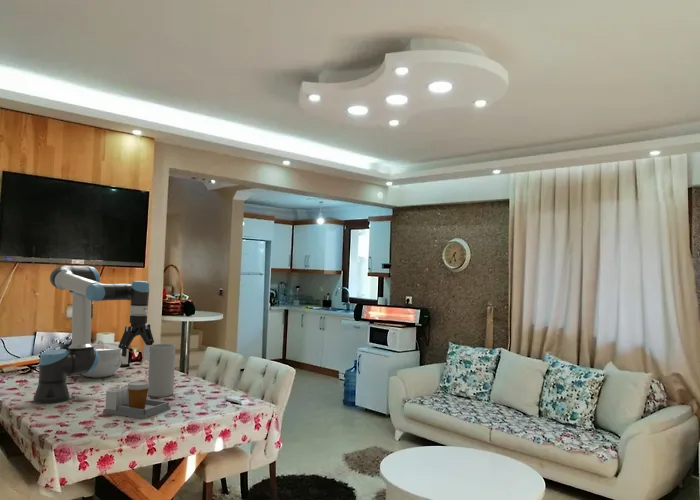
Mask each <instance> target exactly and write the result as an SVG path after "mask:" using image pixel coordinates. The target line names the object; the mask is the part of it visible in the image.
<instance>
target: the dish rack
mask: <svg viewBox="0 0 700 500" xmlns="http://www.w3.org/2000/svg"><path fill="white" fill-rule="evenodd" d="M127 386H128V384H126V385H125V386H121V387H116V389H115V388H111V390H109V389H108V390H105V406H104V408H103V410H102V413H104V414H111V415H116V416H121V415H122V417H129V418H135V419H140V418H141V420H143V419H146V417H147V418H149V416H150V417H152V416H155V415H157V414H161V413H163V412H166V411H169V410H171V405H169V404H170V402H169V401H162V400H156V399H148V398H147V399H146V405H145V409H139V408H132V407H129V395H128V387H127Z"/></svg>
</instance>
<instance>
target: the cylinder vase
mask: <svg viewBox="0 0 700 500" xmlns="http://www.w3.org/2000/svg"><path fill="white" fill-rule="evenodd" d="M175 361H176V344H172V343H156V344H154V343H153V344H152V345H150V352H149V359H148V377H147V378H148V379H147V382H149V385H150V386H149V388H148V394H147V396H149V397H154V398H165V397H169V396H172V395H174V387H175V386H174V385H175V384H174V383H175V369H176V368H175V363H176V362H175Z"/></svg>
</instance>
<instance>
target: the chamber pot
mask: <svg viewBox="0 0 700 500" xmlns="http://www.w3.org/2000/svg"><path fill="white" fill-rule="evenodd" d="M91 344H92V345H94V349H96V350H97V351H98V354H99V362H98V365H97V367H96V368H95V370H94V371H92V372H88V373H85V374H82V375H83V376H84V377H87V378H90V377H91V378H92V379H94V378H95V379H98V378H99V379H100V378H108V377H110V376H113V375H115V373H116V374H117V372H118V370H119V369H120V368H121V365H122V349H120V348H119V347H118V346H119V344H120V343H111V342H103V340H98V341H97V342H95V343H93V342H92V343H91Z"/></svg>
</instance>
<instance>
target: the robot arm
mask: <svg viewBox="0 0 700 500" xmlns="http://www.w3.org/2000/svg"><path fill="white" fill-rule="evenodd" d="M49 281H50V284H51V285H52V287H54V288H56V289H58V290H63V291H64V290H65V291H66V290H68V291H69V294H70V295H71V296H72V306H71V307H72V308H71V311H72V312H71V313H72V314H71V315H72V316H71V317H72V318H71V319H72V321H71V344H70V345H69V346H68V349H64V348H57V349H52V350H47V351H44V352H43V353H41V355H40V356H39V362H38V364H39V365H38V366H39V367H38V384H37V386H36V387H37V388H36V390H35V393H34V395H33V399H32V401H33V402H34V403H36V404H55V403H62V402H65V401H68V400H69V399H70V392H69V389H68V385H67V376H68V377H69V376H75V375H83V374H85V373H88V372H92V371H94V370H95V368H96V367H97V365H98V362H99V354H98V351H97V350H96V349H94V345H92V344H93V343H92V339H91V338H92V302H100V301H101V302H102V301H130V309H129V321H128V323H129V324H130V326H125V327H124V332H123V334H122V337H121V339H120V342H119V343H118V344H119V346H118V347H119V348H120V349H121V353H122V362H121V365H122V364H123V365H128V364H129V351H130V350H129V349H128V348H129V346H130V345H131V343H133V340H134V338H135V337H137V336H140V337H141V338H142V340H143V342H144V345H143V360H149V354H150V345H154V343H155V340H154V337H153V332H152V330H151V324H149V323H148V315H147V314H148V313H149V312H148V309H149V298H150V282H149V281H146V280H132V282H131V284H130V283H127V282H126V283H125V282H124V283H123V282H122V283H101V276H100V273H99V271H98V269H97V268H95V267H93V266H90V265H60V266H57V267H56V268H54V269H53V270H52V271H51V273H50V276H49Z"/></svg>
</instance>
